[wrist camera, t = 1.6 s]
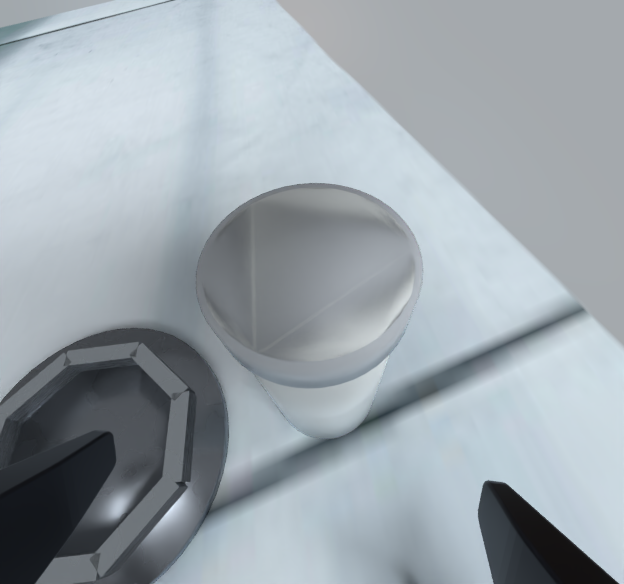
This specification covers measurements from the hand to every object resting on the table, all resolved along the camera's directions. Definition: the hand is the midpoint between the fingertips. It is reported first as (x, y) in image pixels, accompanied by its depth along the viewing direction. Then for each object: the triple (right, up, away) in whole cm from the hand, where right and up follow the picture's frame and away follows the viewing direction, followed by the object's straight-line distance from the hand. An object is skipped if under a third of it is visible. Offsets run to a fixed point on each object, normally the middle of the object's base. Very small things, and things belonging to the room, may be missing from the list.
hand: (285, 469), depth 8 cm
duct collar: (-12, -5, +12) cm, 17 cm away
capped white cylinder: (+1, -2, +13) cm, 13 cm away
